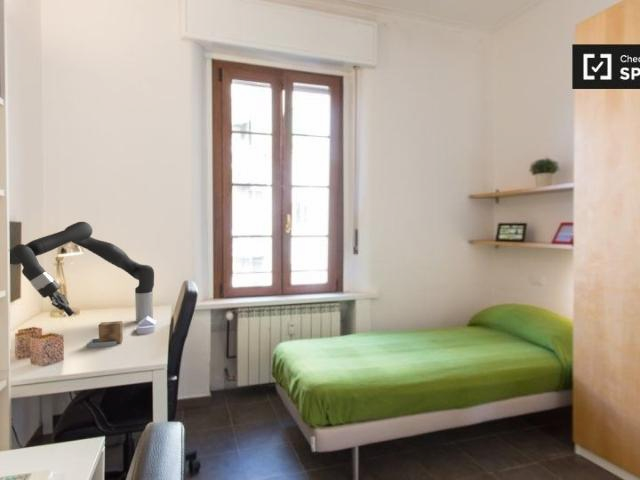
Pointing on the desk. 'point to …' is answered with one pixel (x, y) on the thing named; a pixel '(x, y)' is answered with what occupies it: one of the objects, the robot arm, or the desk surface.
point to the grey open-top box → (100, 343)
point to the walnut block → (111, 332)
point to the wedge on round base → (146, 326)
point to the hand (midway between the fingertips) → (71, 314)
